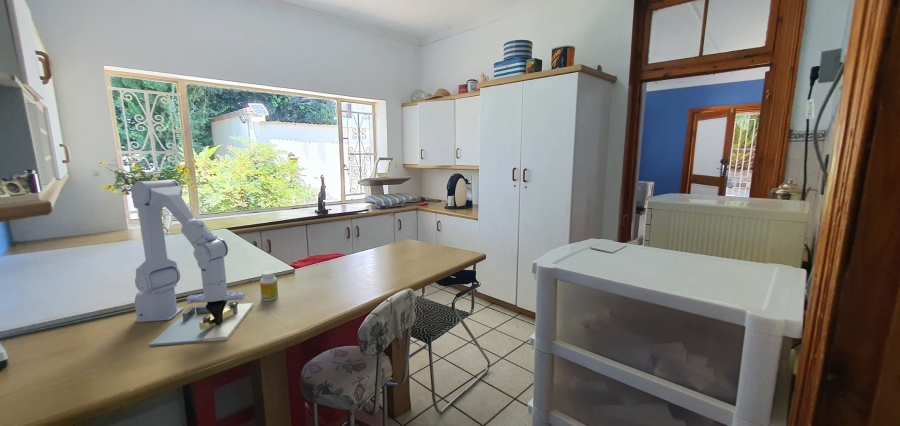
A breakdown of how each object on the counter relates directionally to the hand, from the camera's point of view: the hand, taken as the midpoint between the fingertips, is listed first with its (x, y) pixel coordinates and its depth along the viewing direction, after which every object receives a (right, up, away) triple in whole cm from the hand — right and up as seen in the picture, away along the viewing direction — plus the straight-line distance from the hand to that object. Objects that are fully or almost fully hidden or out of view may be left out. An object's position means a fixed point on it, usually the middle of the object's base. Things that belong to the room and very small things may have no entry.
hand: (219, 323), depth 103 cm
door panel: (-6, -1, +3) cm, 7 cm away
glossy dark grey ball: (-1, 0, +9) cm, 9 cm away
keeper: (-11, 0, +7) cm, 13 cm away
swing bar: (-2, 0, +2) cm, 3 cm away
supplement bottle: (+3, +2, +23) cm, 23 cm away
